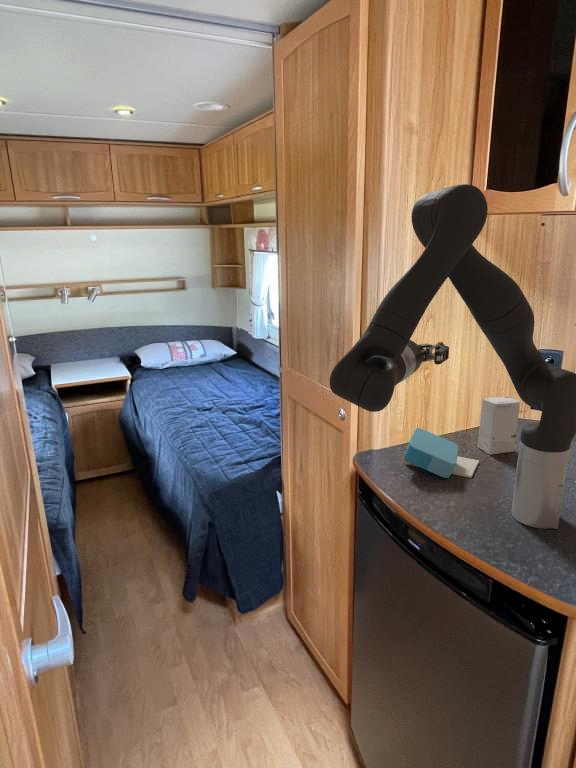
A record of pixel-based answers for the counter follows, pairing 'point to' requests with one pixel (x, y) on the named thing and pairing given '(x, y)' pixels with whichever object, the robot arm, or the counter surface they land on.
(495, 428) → the skincare box
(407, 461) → the ledge
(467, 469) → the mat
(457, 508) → the counter surface
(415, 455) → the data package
